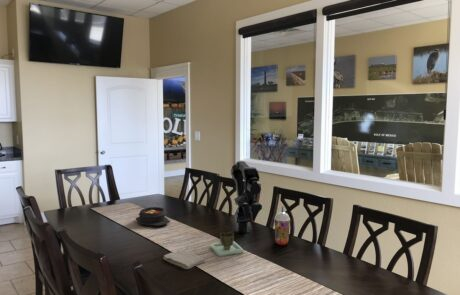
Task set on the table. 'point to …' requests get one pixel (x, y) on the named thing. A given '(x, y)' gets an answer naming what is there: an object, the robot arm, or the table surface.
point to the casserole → (152, 216)
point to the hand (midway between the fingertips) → (249, 218)
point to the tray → (222, 252)
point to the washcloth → (184, 259)
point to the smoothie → (282, 228)
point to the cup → (226, 239)
